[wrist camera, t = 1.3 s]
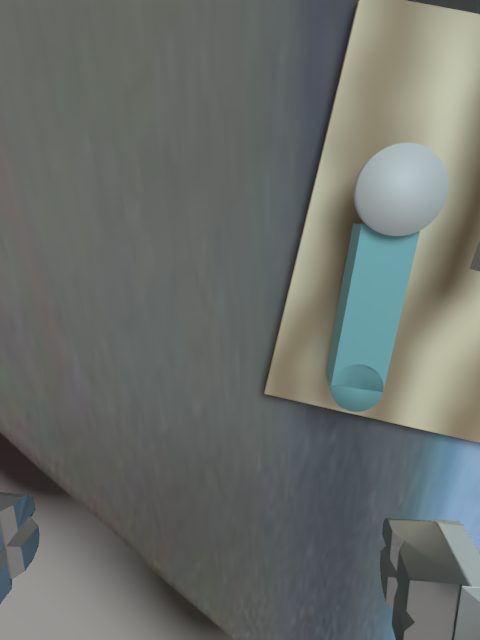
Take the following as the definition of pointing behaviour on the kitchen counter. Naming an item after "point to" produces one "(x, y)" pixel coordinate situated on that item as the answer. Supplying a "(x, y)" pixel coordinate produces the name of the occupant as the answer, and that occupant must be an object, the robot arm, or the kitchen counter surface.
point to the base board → (434, 240)
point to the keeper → (476, 259)
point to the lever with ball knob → (381, 267)
